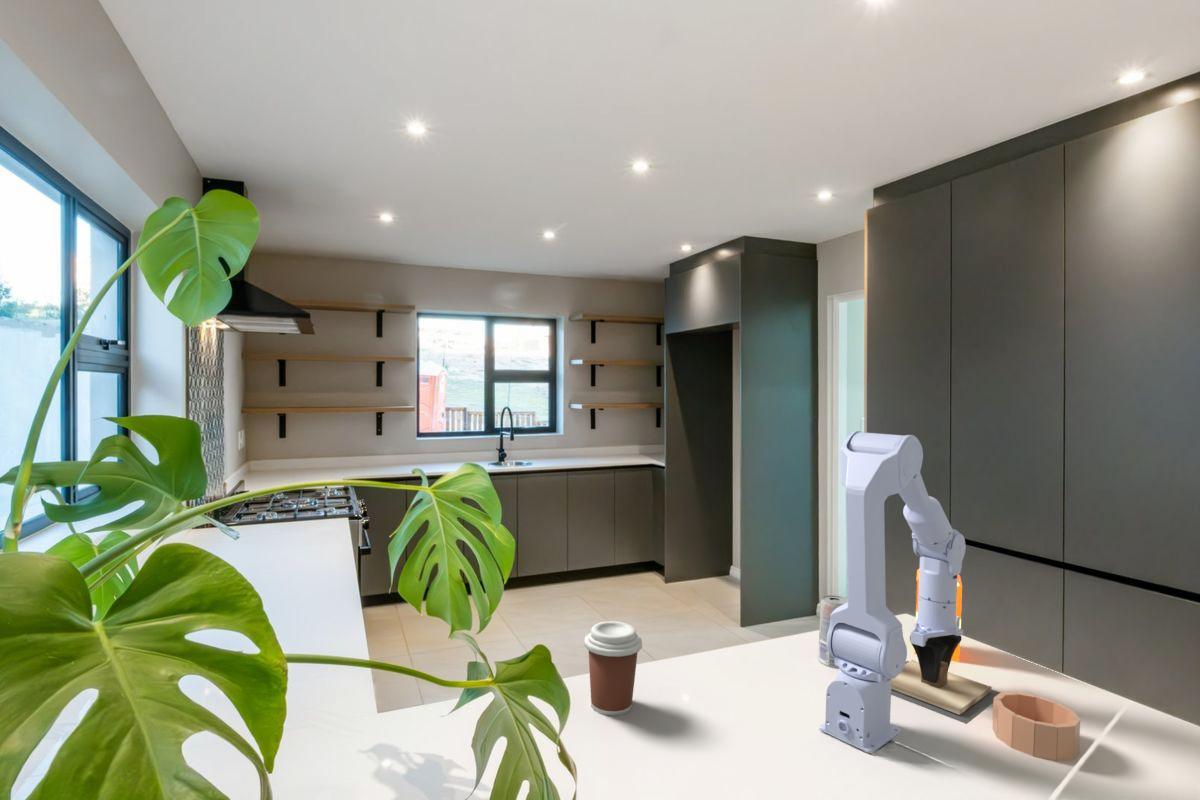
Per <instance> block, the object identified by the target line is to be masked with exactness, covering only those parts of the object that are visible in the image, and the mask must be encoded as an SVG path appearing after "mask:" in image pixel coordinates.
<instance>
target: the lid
mask: <svg viewBox="0 0 1200 800" xmlns="http://www.w3.org/2000/svg"><path fill="white" fill-rule="evenodd" d="M891 689H893V690H895V691H898V692H901V693H903V694H906V695H909V696H911V697H914V698H917V699H919V700H922V701H924V702H927V703H930V704H932V705H935V706H938V707H940V708H943V709H945V710H948V711H951V712H953V713H956V714H959V715H960V714H961V713H963V712H964V711H965V710H967V709H968V708H970V707H971V706H972V705H974V704H975V703H976V702H978V701H979V700H980V699H982V698H983V697H984V696H986V695H987V694H988V693H990V692H991V689H992V686H990V685H987V684H984V683H981V682H978V681H975V680H973V679H969V678H967V677H963V676H961V675H958V674H954V673H951V672H949V669H948V663H946V662H943V661H942V662H941V666H940V672H939V677H938V680H937V683H932V682H929V681H926V680H923V678H922V674H921V670H920V665H919V661H916V660H913V659H912V660H911V661H910V662H908V663H906V664H905V666H904V668H903V670H902V672H901V673H900V674H899V675H898V676H897V677H895V678H894V679H892V682H891Z"/></svg>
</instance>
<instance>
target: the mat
mask: <svg viewBox="0 0 1200 800" xmlns="http://www.w3.org/2000/svg"><path fill="white" fill-rule="evenodd" d="M908 662H910V661H909V660H906V663H908ZM906 663H905V664H906ZM999 693H1002V692H1000V691H997V690H994V689H992V688H991V692H990V693H988V694H987V695H986V696H984V697H983V698H982V699H980V700H979V701H978V702H976V703H975V704H974V705H972V706H971V707H970V708H968V709H967V710H965V711H964V712H963V713H961V714H960V715H959V714H956V713H953V712H951V711H948V710H945V709H943V708H940V707H938V706H935V705H932V704H930V703H927V702H924V701H922V700H919V699H917V698H914V697H911V696H909V695H906V694H903V693H901V692H898V691H895V690H893V689H891V696H893V697H896V698H899V699H901V700H903V701H907V702H909V703H910V704H914V705H916V706H919V707H922V708H925V709H926V710H930V711H932V712H934V713H937V714H940V715H942V716H945V717H948V718H950V719H952V720H955V721H957V722H960V723H963V724H965V725H966V724H968V723H970V722H971V721H972V720H973V719H975V717H977V716H978V715H979V714H981V713H982V712H983V711H984V710H986V709H988V708H989V706H991V705H992V704H993V703H994V697H995V696H997V695H998V694H999Z"/></svg>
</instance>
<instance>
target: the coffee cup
mask: <svg viewBox="0 0 1200 800" xmlns="http://www.w3.org/2000/svg"><path fill="white" fill-rule="evenodd" d="M636 630H637V629H636V628H635V627H634V626H633V625H632V624H630V623H629V624H628V623H627V622H622V621H618V620H617V621H612V620H611V621H610V620H609V621H601V622H598V623H596V624H594V625H593V626H592V627H591V631H590V632H589V633H588V634H586V635H585V637H584V647H585V649H586V650H587V651H588V666H589V669H588V670H589V684H590V685H589V687H590V707H591V708H592V710H593V711H595V712H596V713H598V714H601V715H604V716H622V715H625V714H627V713H629V712H630V711H631V710H632V708H633V707H632V706H633V698H634V697H633V695H634V689H635V688H634V687H635V680H636V669H637V661H638V653H639V652H640V651H641V650H642V649H643V641H642V638H641V636H639V635H638V634H637V631H636Z"/></svg>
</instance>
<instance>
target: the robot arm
mask: <svg viewBox="0 0 1200 800" xmlns="http://www.w3.org/2000/svg"><path fill="white" fill-rule="evenodd" d="M923 461H924V451H923V446H922V444H921V442H920V440H919V439H918V438H917V436H915V435H914V434H906V435H903V434H901V435H900V434H890V433H889V434H888V433H876V432H865V431H864V432H863V431H860V430H859V431H858V430H854V431H852V432H850V433H849V434H848V436H847V437H846V439H845V441H844V442H843V444H842V446H841V447H840V475H841V477H840V480H841V481H840V482H841V485H842V486H843V487H844V488H845V537H846V542H845V543H846V577H847V578H846V581H847V589H846V590H847V599H848V602H847V603H845V604H843V605H841V606H839V607H838V608H836V609H835V610H834V611H833V612H832V613H831V615H830V616H831V619H830V627H829V630H828V634H827V646H828V650H829V653H830V654H831V656H832V657H834V658H835V665H837V666H838V667H839V669H838V672H837V675H836V677H835V678H834V680H833V681H831V682H830V683H829V684H828V687H827V689H826V695H825V697H826V698H825V719H824V720H825V721H824V723H822V724H820V725H819V730H820V731H821V732H824V733H826V734H828V735H829V736H832V737H834V738H836V739H839V740H840V741H842V742H844V743H846V744H850V745H851V746H853V747H854V748H858V749H860V750H862V751H863V752H866V753H868V754H872V753H873V752H876V751H877V750H879V748H881V747H882V746H884V745H885V744H887V743H888V742H890V741H891V740H893V738H894V737H896V736H898V735H900V733H901V732H902V729H901V727H898V726H896V725H893V724H892V723H891V708H892V707H891V706H892V705H891V704H892V695H891V682H892V679H894V678H895V677H897V676H898V675H899V674H900V673H901V672H902V670H903V668H904V666H905V663H906V661H907V659H908V658H907V656H908V648H907V647H908V646H907V644H906V642H905V638H904V635H903V634H904V632H903V624H902V623H901V621H900V620H899V619H898V618H897V617H896V615H894V613H893V612H892V611H891V610H890V608H888V607H887V602H886V601H887V600H886V596H887V595H886V592H887V591H886V545H885V544H886V541H885V540H886V539H885V538H886V535H885V534H886V533H885V530H886V529H885V526H886V524H885V501H886V500H887V498H888V497H890V496H893V495H897V494H898V495H899V496H900V497H901V499H902V500H903V502H904V503H905V505H904V507H903V510H902V512H903V513H902V514H903V516H904V517H903V518H904V519H905V520H906V523H907V524H908V526H909V528H910V530H911V531H912V533H911V538H912V548H913V549H912V550H913V553H914V554H915V555H916V556H917V557H919V568H918V569H919V593H918V594H919V595H918V619H917V620H916V619H915V624H914V627H913V628H914V629H913V630H911V631H910V636H909V642H910V644H911V645H912V647H913V649H914V653H915V652H916V654H915V655H916V657H917V660H918V661H917V662H919V665H920V670H921V674H922V678H923V680H926V681H929V682H932V683H937V680H938V677H939V672H940V666H941V662H942V661H943V662H946V663H948V670H949V669H950V664H951V662H952V661H951V659H952V656H953V653H954V651H955V649H956V647H957V646H958V644H959V643H960V644H961V641H962V639H963V638H962V635H963V634H964V629H962V628H961V629H960V628H959V625H960V617H958V616H956V605H957V579H958V574H959V575H960V574H961V572H962V570H963V569H962V567H963V565H962V564H963V560H964V557H965V554H966V548H967V547H966V540H965V536H964V535H963V534H962V533H960V531H958V530H957V529H955V528H952V525H951V523H950V522H949V519H948V518H947V515H946V512H944V509H943V507H942V505H941V502H940V501H938V499H937V498H935V497H933V496H930V495H929V493H928V490H927V488H926V485H925V482H924V479H923V476H922V474H921V469H922V466H923Z"/></svg>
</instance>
